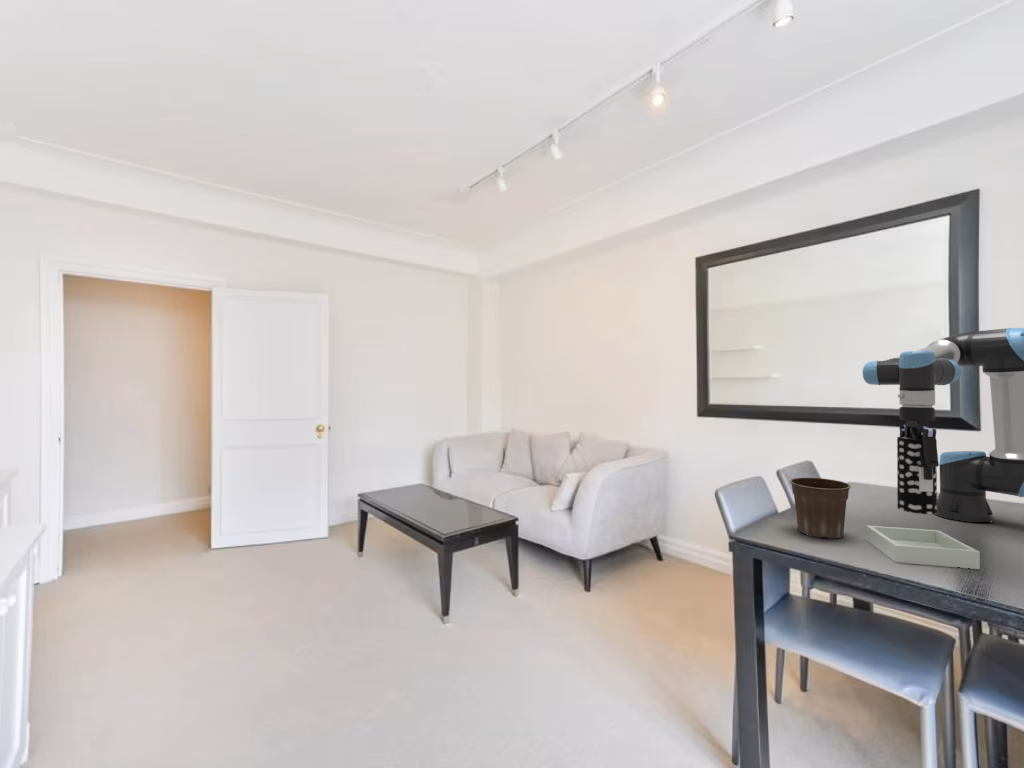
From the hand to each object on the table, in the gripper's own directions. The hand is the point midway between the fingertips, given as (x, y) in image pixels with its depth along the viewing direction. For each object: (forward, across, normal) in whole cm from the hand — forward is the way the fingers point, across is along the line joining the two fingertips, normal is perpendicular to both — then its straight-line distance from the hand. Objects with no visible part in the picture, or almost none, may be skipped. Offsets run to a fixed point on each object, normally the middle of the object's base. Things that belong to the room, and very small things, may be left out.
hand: (917, 487), depth 130 cm
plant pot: (+19, -13, -20) cm, 30 cm away
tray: (+18, 0, 0) cm, 18 cm away
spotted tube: (+7, 0, 0) cm, 7 cm away
